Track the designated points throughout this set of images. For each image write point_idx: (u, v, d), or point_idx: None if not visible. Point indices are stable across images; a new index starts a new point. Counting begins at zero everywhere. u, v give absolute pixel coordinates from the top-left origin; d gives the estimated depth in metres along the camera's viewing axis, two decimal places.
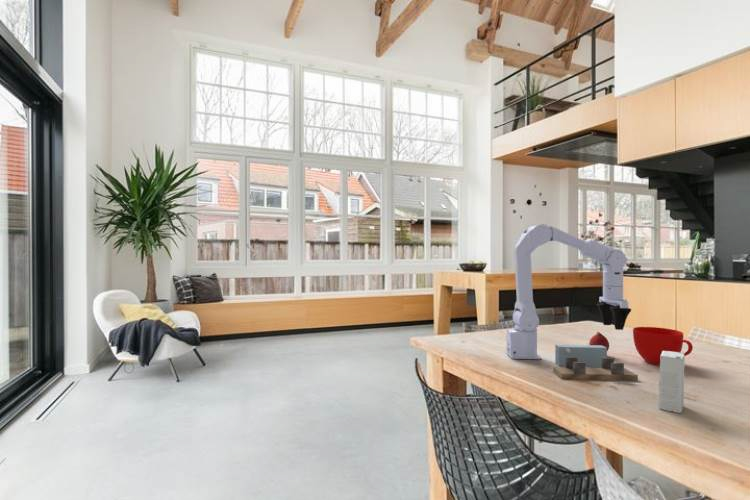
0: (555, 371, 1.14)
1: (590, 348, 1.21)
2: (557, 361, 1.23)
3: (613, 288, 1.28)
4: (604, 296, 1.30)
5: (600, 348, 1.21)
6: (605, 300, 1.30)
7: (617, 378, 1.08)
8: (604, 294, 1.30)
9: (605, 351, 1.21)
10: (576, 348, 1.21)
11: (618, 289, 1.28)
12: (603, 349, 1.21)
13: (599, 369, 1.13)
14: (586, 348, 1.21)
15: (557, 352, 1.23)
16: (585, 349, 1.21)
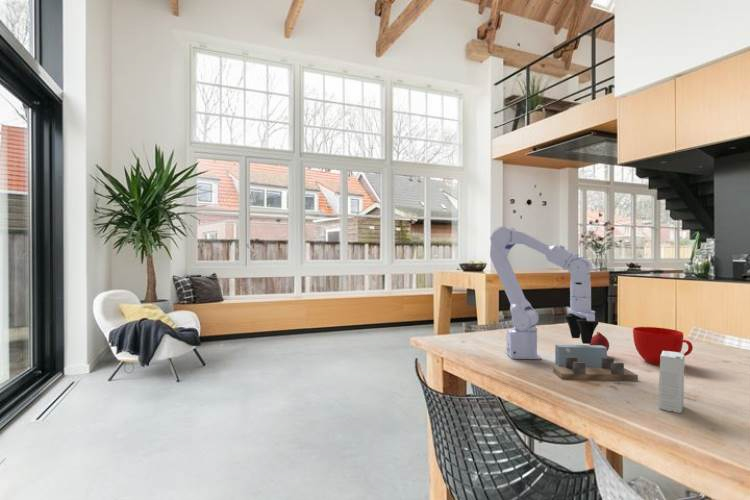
0: (555, 371, 1.14)
1: (590, 348, 1.21)
2: (557, 361, 1.23)
3: (580, 299, 1.20)
4: (571, 308, 1.23)
5: (600, 348, 1.21)
6: (572, 312, 1.22)
7: (617, 378, 1.08)
8: (571, 305, 1.23)
9: (605, 351, 1.21)
10: (576, 348, 1.21)
11: (585, 300, 1.20)
12: (603, 349, 1.21)
13: (599, 369, 1.13)
14: (586, 348, 1.21)
15: (557, 352, 1.23)
16: (585, 349, 1.21)
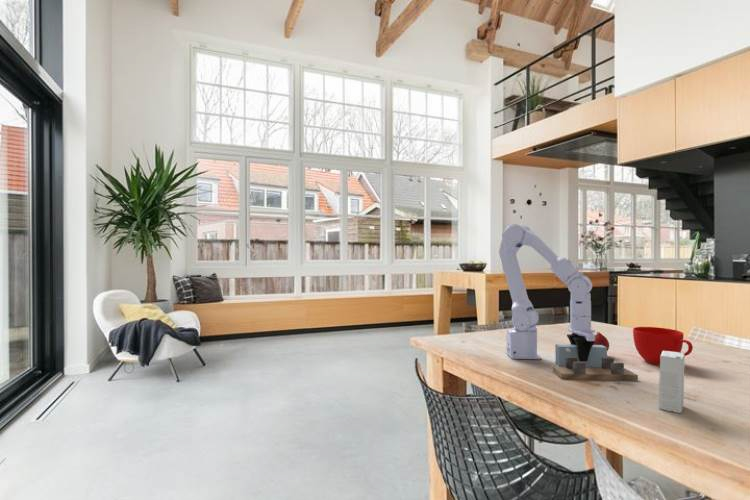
0: (555, 371, 1.14)
1: None
2: (557, 361, 1.23)
3: (580, 318, 1.20)
4: (571, 326, 1.23)
5: (600, 348, 1.21)
6: (572, 331, 1.22)
7: (617, 378, 1.08)
8: (571, 324, 1.23)
9: (605, 351, 1.21)
10: (576, 348, 1.21)
11: (585, 319, 1.20)
12: (603, 349, 1.21)
13: (599, 369, 1.13)
14: None
15: (557, 352, 1.23)
16: None
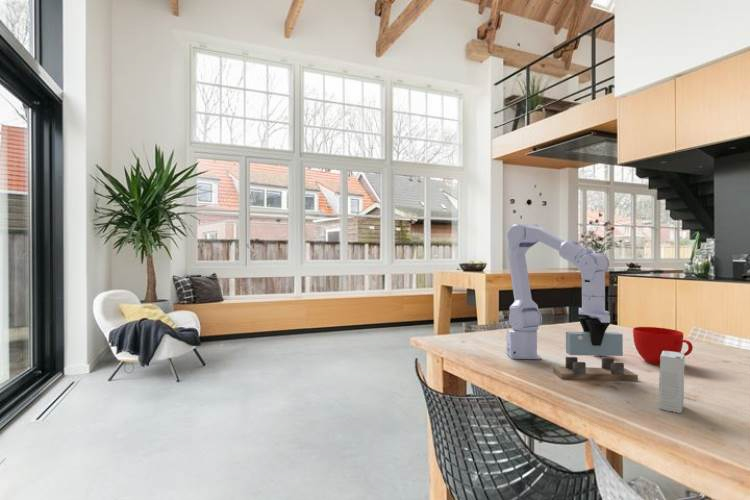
0: (555, 371, 1.14)
1: (604, 335, 1.10)
2: (568, 349, 1.12)
3: (593, 299, 1.10)
4: (583, 308, 1.12)
5: (615, 335, 1.10)
6: (584, 312, 1.11)
7: (617, 378, 1.08)
8: (583, 305, 1.12)
9: (621, 338, 1.10)
10: (589, 335, 1.11)
11: (599, 300, 1.09)
12: (618, 336, 1.10)
13: (599, 369, 1.13)
14: None
15: (568, 339, 1.12)
16: None
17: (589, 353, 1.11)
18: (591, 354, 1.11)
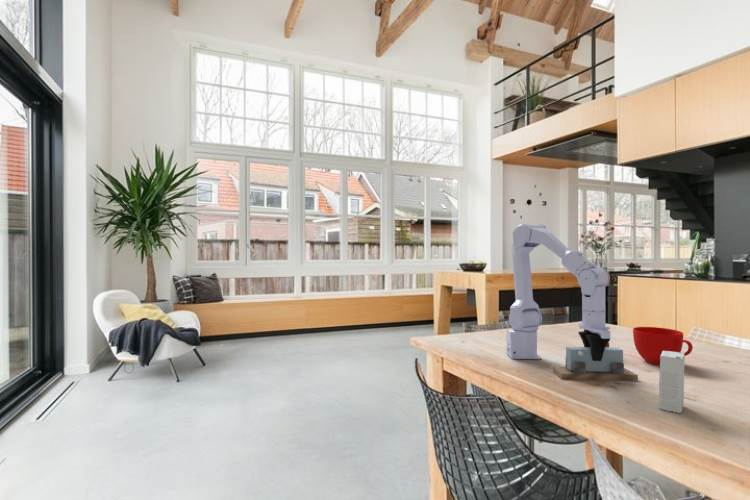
0: (555, 371, 1.14)
1: (605, 350, 1.10)
2: (568, 365, 1.12)
3: (593, 314, 1.09)
4: (583, 323, 1.12)
5: (616, 350, 1.10)
6: (584, 327, 1.11)
7: (617, 378, 1.08)
8: (583, 320, 1.12)
9: (621, 354, 1.10)
10: (589, 351, 1.10)
11: (599, 315, 1.09)
12: (619, 352, 1.10)
13: None
14: None
15: (568, 355, 1.12)
16: None
17: (589, 369, 1.10)
18: (591, 370, 1.10)
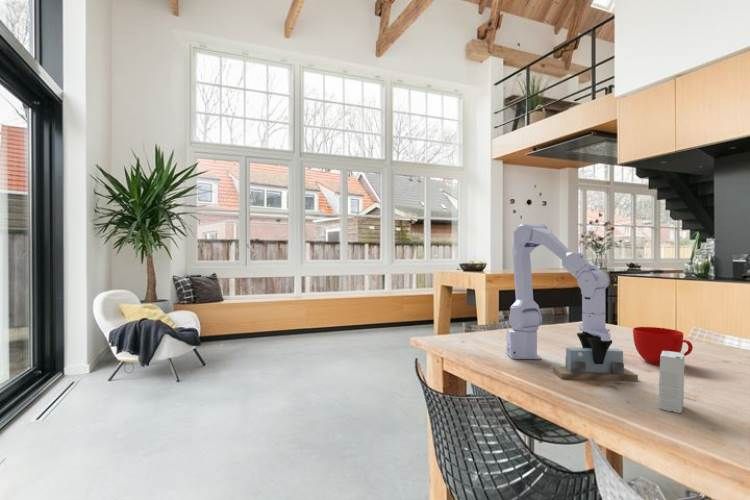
0: (555, 371, 1.14)
1: None
2: (568, 366, 1.12)
3: (593, 316, 1.09)
4: (583, 325, 1.12)
5: (616, 351, 1.10)
6: (584, 330, 1.11)
7: (617, 378, 1.08)
8: (583, 322, 1.12)
9: (621, 355, 1.10)
10: (589, 352, 1.10)
11: (599, 317, 1.09)
12: (619, 353, 1.10)
13: None
14: None
15: (568, 356, 1.12)
16: None
17: (589, 370, 1.10)
18: (591, 371, 1.10)
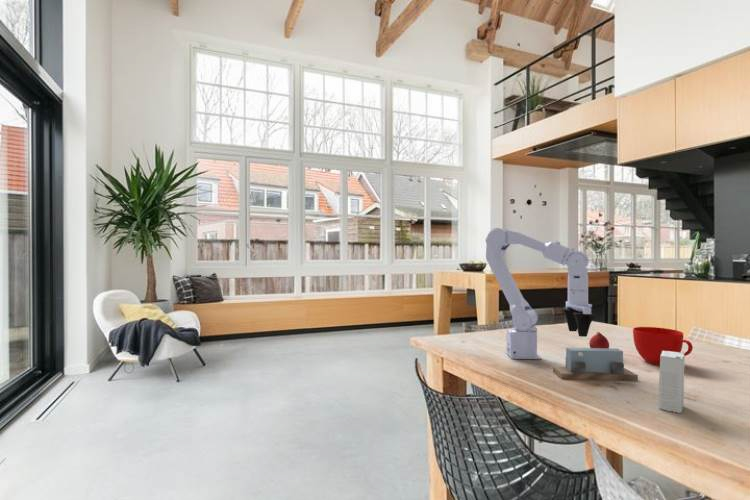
0: (555, 371, 1.14)
1: (605, 351, 1.10)
2: (568, 366, 1.12)
3: (577, 293, 1.22)
4: (568, 301, 1.24)
5: (616, 351, 1.10)
6: (569, 305, 1.23)
7: (617, 378, 1.08)
8: (568, 299, 1.24)
9: (621, 355, 1.10)
10: (589, 352, 1.10)
11: (582, 294, 1.21)
12: (619, 353, 1.10)
13: None
14: (600, 351, 1.10)
15: (568, 356, 1.12)
16: (600, 353, 1.10)
17: (589, 370, 1.10)
18: (591, 371, 1.10)
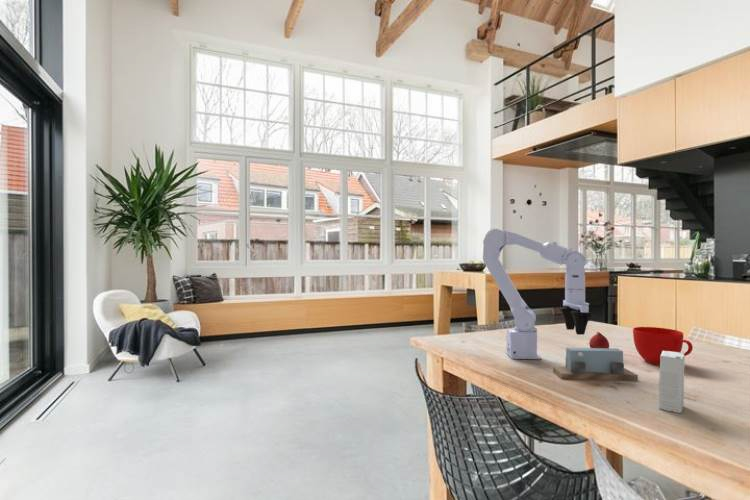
0: (555, 371, 1.14)
1: (605, 351, 1.10)
2: (568, 366, 1.12)
3: (574, 292, 1.24)
4: (566, 300, 1.27)
5: (616, 351, 1.10)
6: (567, 304, 1.26)
7: (617, 378, 1.08)
8: (566, 298, 1.27)
9: (621, 355, 1.10)
10: (589, 352, 1.10)
11: (579, 293, 1.24)
12: (619, 353, 1.10)
13: None
14: (600, 351, 1.10)
15: (568, 356, 1.12)
16: (600, 353, 1.10)
17: (589, 370, 1.10)
18: (591, 371, 1.10)
